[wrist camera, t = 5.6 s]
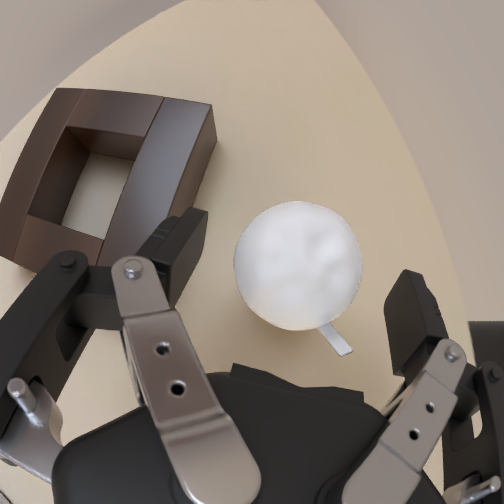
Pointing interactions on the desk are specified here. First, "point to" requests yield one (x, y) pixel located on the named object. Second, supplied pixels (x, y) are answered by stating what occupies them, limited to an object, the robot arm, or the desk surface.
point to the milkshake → (299, 268)
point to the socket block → (112, 144)
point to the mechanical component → (3, 500)
